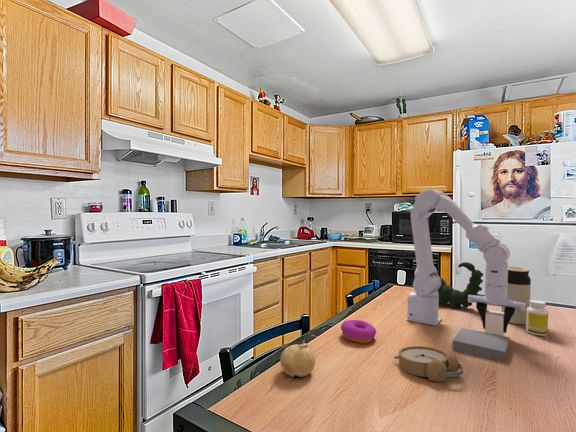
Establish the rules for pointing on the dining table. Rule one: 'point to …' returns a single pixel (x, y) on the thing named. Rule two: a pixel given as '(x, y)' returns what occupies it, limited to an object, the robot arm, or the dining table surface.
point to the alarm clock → (429, 363)
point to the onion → (297, 360)
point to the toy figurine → (458, 297)
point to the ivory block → (494, 322)
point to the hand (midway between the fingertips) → (494, 329)
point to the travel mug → (518, 292)
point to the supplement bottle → (537, 318)
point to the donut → (358, 331)
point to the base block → (481, 344)
